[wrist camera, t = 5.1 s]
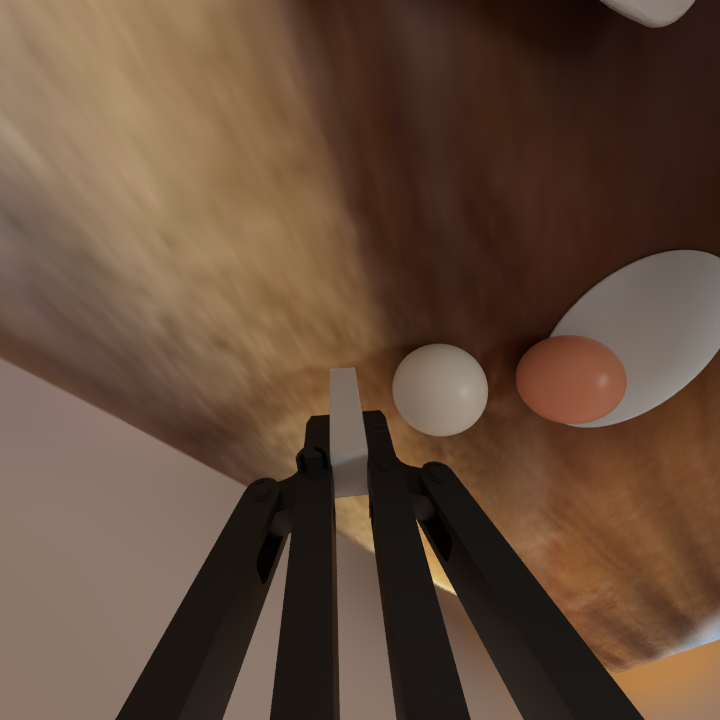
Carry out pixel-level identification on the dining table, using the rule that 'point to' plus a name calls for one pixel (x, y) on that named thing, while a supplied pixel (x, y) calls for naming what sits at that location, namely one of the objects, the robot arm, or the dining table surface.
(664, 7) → the salad plate
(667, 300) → the oval plate
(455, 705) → the robot arm
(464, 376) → the ivory ball
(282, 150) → the dining table surface
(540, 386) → the coral ball
